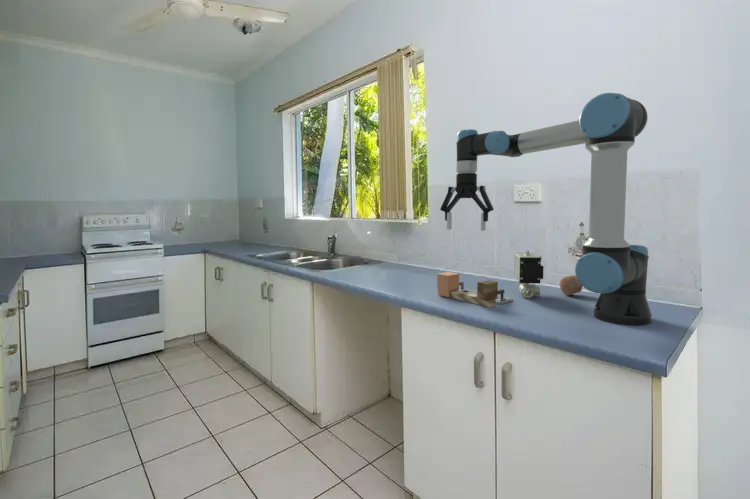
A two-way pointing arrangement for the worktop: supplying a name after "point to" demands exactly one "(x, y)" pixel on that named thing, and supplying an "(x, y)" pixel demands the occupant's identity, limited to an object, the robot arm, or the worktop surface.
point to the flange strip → (498, 300)
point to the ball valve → (528, 273)
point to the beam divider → (480, 294)
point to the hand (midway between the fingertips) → (465, 230)
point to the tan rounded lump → (570, 285)
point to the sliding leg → (448, 283)
